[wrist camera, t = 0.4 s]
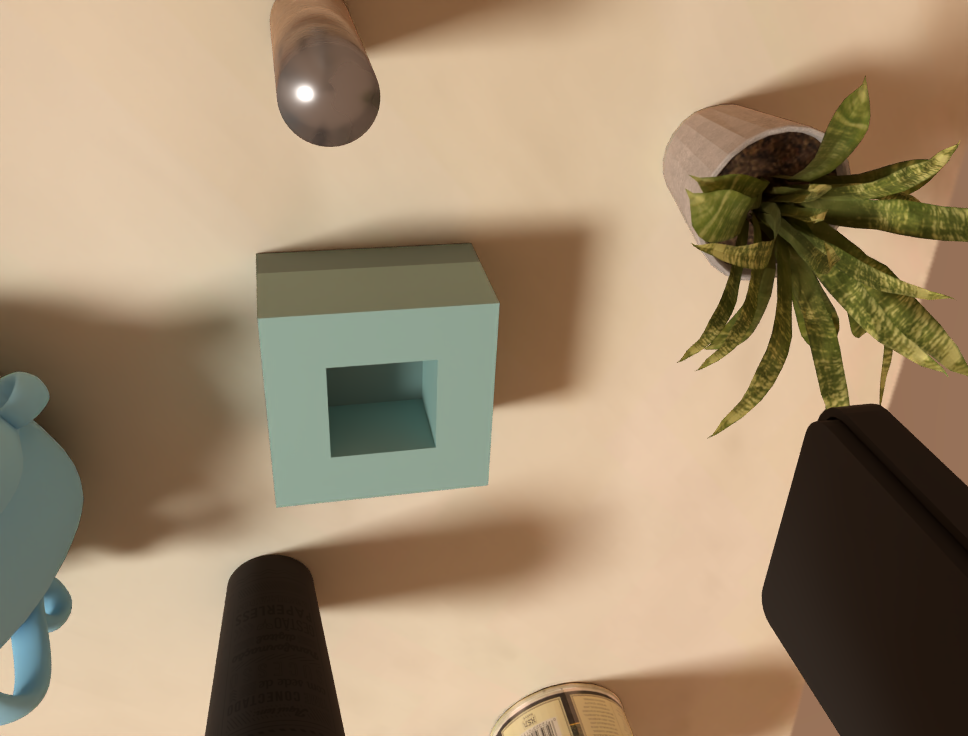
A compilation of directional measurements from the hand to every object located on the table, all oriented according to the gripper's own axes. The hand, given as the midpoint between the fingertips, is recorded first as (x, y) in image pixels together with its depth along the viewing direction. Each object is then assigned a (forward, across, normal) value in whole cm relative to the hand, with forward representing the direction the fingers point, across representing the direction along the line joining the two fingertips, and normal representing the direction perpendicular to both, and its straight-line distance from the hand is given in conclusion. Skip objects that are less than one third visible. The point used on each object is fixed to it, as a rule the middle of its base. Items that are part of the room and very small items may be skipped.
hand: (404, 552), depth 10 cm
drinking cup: (+33, +3, +32) cm, 46 cm away
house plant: (+32, -18, +7) cm, 38 cm away
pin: (+32, -1, +1) cm, 32 cm away
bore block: (+32, -3, +16) cm, 36 cm away
